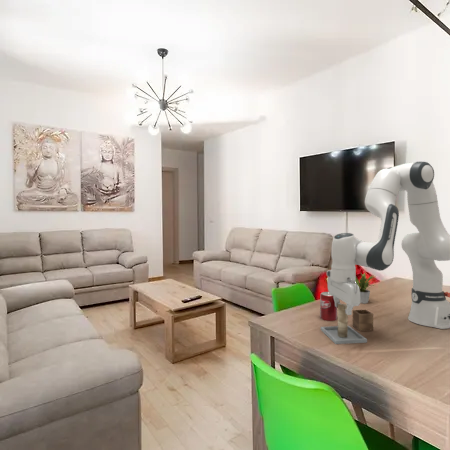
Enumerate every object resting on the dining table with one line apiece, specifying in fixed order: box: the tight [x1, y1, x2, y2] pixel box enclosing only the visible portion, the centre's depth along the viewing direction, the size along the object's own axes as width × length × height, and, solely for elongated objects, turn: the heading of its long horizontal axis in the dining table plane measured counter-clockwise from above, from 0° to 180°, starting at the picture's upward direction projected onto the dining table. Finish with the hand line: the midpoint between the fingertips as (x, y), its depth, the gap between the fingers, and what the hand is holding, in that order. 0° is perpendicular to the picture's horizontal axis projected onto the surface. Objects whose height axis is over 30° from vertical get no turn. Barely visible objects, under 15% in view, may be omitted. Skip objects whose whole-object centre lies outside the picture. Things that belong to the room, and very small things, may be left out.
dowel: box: [337, 303, 349, 338], centre depth 124 cm, size 4×4×12 cm
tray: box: [320, 325, 368, 345], centre depth 124 cm, size 12×14×2 cm
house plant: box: [355, 271, 375, 305], centre depth 170 cm, size 14×14×16 cm
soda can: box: [319, 291, 338, 322], centre depth 144 cm, size 7×7×12 cm
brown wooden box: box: [351, 309, 374, 332], centre depth 132 cm, size 6×6×8 cm
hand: (342, 310), depth 124 cm, fingers open, 8 cm apart
